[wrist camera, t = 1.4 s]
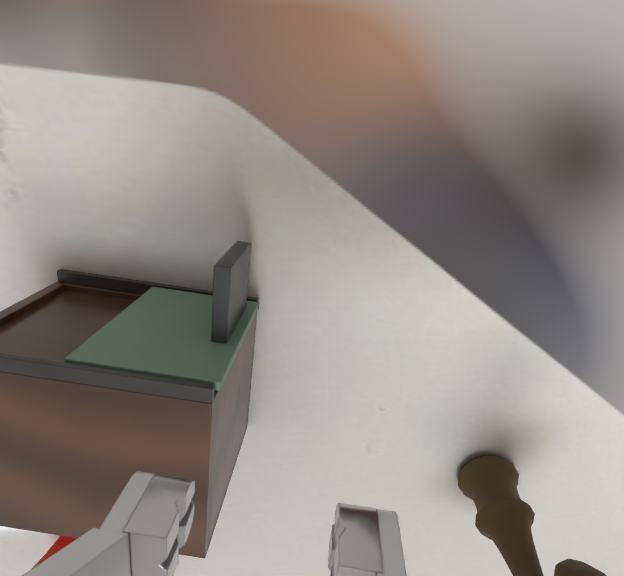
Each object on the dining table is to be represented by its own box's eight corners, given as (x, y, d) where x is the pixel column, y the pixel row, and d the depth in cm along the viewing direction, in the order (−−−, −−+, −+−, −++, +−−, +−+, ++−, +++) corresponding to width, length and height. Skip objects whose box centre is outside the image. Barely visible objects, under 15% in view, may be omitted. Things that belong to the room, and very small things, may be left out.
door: (151, 223, 29) (52, 269, 19) (264, 239, 29) (224, 294, 19) (152, 293, 31) (64, 368, 21) (258, 309, 31) (219, 391, 21)
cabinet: (59, 268, 32) (-94, 342, 20) (258, 298, 31) (212, 389, 20) (74, 400, 36) (-44, 519, 25) (247, 427, 36) (205, 558, 25)
